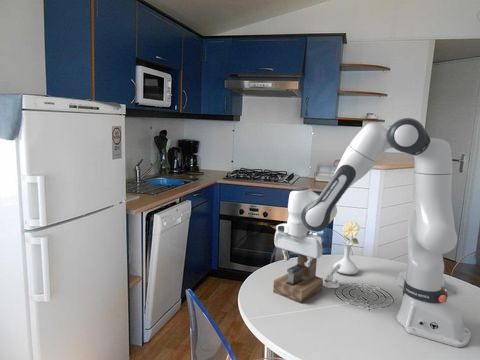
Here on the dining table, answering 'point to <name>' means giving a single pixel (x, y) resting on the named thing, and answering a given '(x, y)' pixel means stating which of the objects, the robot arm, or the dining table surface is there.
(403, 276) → the food container
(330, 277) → the white ring with bar
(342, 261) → the flower in vase
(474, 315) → the dining table surface
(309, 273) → the wooden l-shaped post
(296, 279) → the grey rectangular block
